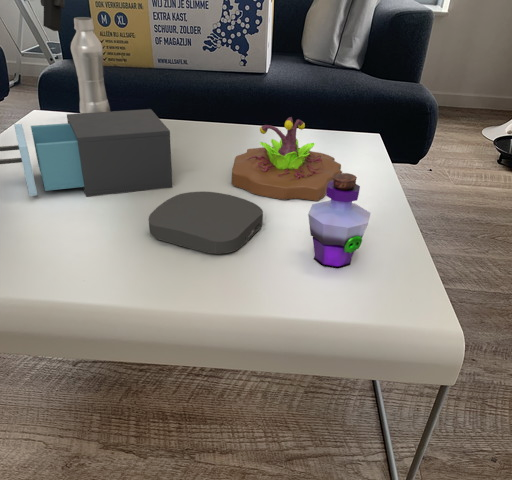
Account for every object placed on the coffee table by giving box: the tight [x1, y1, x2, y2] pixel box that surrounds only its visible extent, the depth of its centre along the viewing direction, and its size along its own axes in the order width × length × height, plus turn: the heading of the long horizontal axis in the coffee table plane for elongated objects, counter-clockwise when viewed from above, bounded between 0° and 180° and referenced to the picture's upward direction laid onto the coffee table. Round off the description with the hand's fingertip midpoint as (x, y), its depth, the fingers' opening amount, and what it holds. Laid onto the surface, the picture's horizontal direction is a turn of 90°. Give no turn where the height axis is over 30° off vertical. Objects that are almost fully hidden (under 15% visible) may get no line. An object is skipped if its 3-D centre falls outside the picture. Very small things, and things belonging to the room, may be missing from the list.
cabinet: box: [66, 108, 174, 197], centre depth 93 cm, size 15×13×10 cm
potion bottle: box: [307, 172, 371, 270], centre depth 73 cm, size 9×9×12 cm
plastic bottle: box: [70, 16, 111, 114], centre depth 114 cm, size 6×7×20 cm
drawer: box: [0, 122, 84, 197], centre depth 90 cm, size 18×11×8 cm, turn 112°
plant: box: [231, 116, 343, 202], centre depth 96 cm, size 20×20×11 cm
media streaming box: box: [148, 191, 264, 255], centre depth 82 cm, size 15×15×3 cm
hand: (52, 28), depth 95 cm, fingers closed
